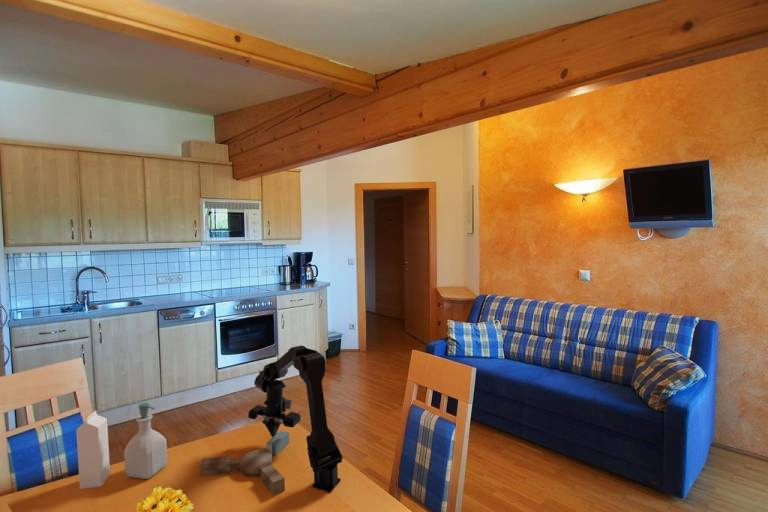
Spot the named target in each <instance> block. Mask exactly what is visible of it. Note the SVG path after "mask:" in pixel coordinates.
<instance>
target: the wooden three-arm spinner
mask: <svg viewBox="0 0 768 512" xmlns="http://www.w3.org/2000/svg"><path fill="white" fill-rule="evenodd" d="M199 467H200V477H209V476H218V475H219V476H220V475H228V474H231V473H238V472H240V473H241V474H242V476H245V477H248V478H256V477H259V478H260V479H261V483H262V484H263V485H264V486H265V488H267V489H268V491H269V492H270V493H271V494H272V495H273V496H276V495H278V494H281V493H282V492H285V488H286V486H285V484H286V483H285V481H286V479H285V477H284V476H283V474H281V473H280V472H279V471H278V469H276V467H274V466H273V455H272V453H271V452H270V451H268V450H266V449H262V448H261V449H255V450H250V451H248V452H246V453H245V454H243V455H241V457H240V458H233V455H227V456H225V455H224V456H223V455H222V456H216V457H215V456H214V457H204V458H202V460H201V463H200V465H199Z"/></svg>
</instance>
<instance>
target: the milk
mask: <svg viewBox="0 0 768 512" xmlns="http://www.w3.org/2000/svg"><path fill="white" fill-rule="evenodd" d="M75 432H76V444H77V445H76V447H77V459H78V461H77V463H78V465H77V466H78V480H79V482H78V483H79V489H80V490H83V489H92V488H100V487H103V485H104V484H105V483H106V481H107V480H108V479H109V477H110V476H111V466H110V448H109V428H108V418H107V417H104V416H101V415H98V411H97V410H94V411H93V412H92V413H91V414H90V415H88V416H87V418H86V421H85V422H82V424H81V425H80V426H79V427H77V429H76V431H75Z"/></svg>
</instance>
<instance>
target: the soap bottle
mask: <svg viewBox="0 0 768 512" xmlns="http://www.w3.org/2000/svg"><path fill="white" fill-rule="evenodd" d="M149 404H150V403H149V402H142V403H140V404H138V408H139V413H140V414H139V415H138V417H136V418H135V421H136V422H138V432H137V433H136V434H135V435H134V436H133V437H132V438H130V440H129V441H128V444H127V445H126V446H125V449H124V451H123V452H124V453H123V454H124V472H125V475H126V476H127V477H129V478H135V479H143V480H148V479H151V478H152V477H153V476H154V475H155V474H157V473H158V472H160V471H161V470H162V469H164V468H165V466H166V465H167V463H168V451H167V450H168V447H167V445H168V443H167V439H166V437H165V436H164V435H162V433H161V432H159V431H157V430H155V429H152V424H151V421H152V419H153V417H154V416H153V414H151V413H149V409H151V410H153V411H154V410H155V409H156V408H154V407H153V406H150V405H149Z"/></svg>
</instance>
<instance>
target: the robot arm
mask: <svg viewBox="0 0 768 512" xmlns="http://www.w3.org/2000/svg"><path fill="white" fill-rule="evenodd" d="M291 367H293V368H294V369H296V370H297V371H298V374H299V377H300V378H301V380H302V381H303V382H304V383H305V386H306V394H307V402H308V410H309V417H310V419H309V420H310V427H311V432H310V434H308V435H307V436H306V439H305V440H306V445H307V448H306V449H307V455H308V460H309V465H310V468H312V472H313V482H314V483H313V484H312V488H313V489H317V490H320V491H325V492H328V493H332V491H333V490H334V489H335V488H336V487H337V485H339V483H340V482H341V478H339V476H338V475H339V472H338V471H339V470H338V469H339V468H338V467H339V466H338V465H339V464H340V463H342V462H343V459H344V457H343V455H342V453H341V450H340V448H339V446H338V444H337V442H336V439H335V435H334V434H333V432H332V431H331V430H330V429H329V426H328V421H327V420H328V417H327V411H326V404H325V403H326V402H325V396H324V389H323V388H324V387H323V380H324V377H325V374H326V372H327V370H326V358H325V355H323V354H322V353H321V352H319V351H317V350H315V349H312V348H311V349H310V348H309V347H306V346H304V345H301V344H300V345H296V346H293V347H290V348H289V349H288V351H287V352H285V353H284V354H283V355H281V356H280V358H279V359H277V360H275V361H274V362H270V363H268V364H265V365H264V366H263V369H262V370H260V371H258V372H259V373H258V375H257V376H256V377H255V380H254V386H255V388H257V389H259V390H260V391H262V392H263V393H265V394H266V399H265V400H264V401H263V403H264V404H263V405H260V404H256V405H255V406H254V407H252V408H251V409H250V410H248V412H247V413H248V415H247V417H248V419H251V420H256V419H257V418H258V416H262V418H263V419H262V421H261V423H262V424H264V425H265V427H266V429H267V431H268V432H269V434H270V437H271V439H272V438H273V437H274V436H275V435H276V434H277V433H278V432H279V429H280V427H281V425H283V426H284V427H287V428H294V427H295V426H297V424H299V423H300V422H301V420H302V419H301V414H300V413H298V412H295V411H294V412H293V411H290V412H289V413H285V412H287V410H290V409H291V408H292V407H291V406H292V399H287V398H285V397H284V395H283V394H284V388H286V384H285V383H284V382H283V380H282V379H281V378H284V377H286V375H287V374H288V372H289V371H288V369H289V368H291ZM280 379H281V380H280ZM265 405H266V406H265Z"/></svg>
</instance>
